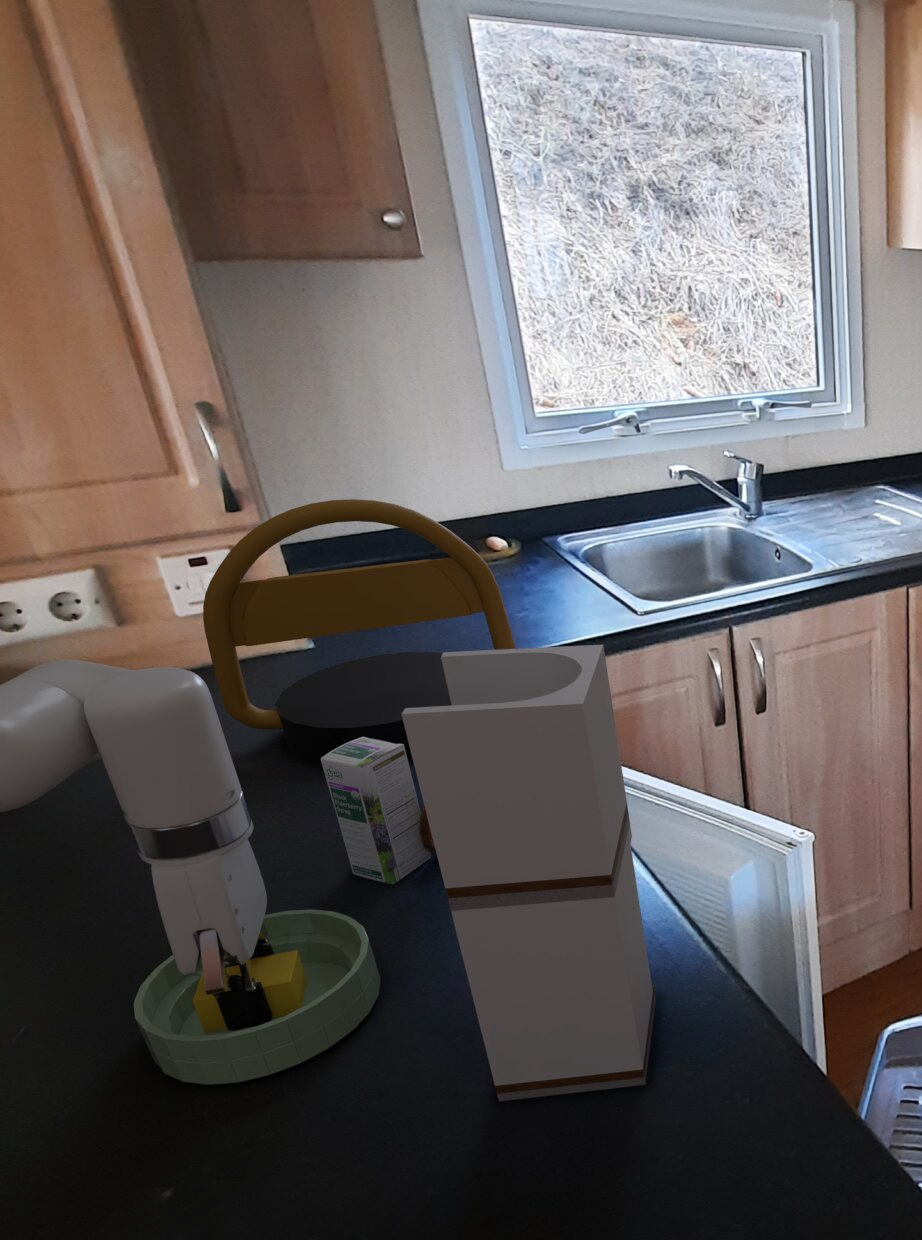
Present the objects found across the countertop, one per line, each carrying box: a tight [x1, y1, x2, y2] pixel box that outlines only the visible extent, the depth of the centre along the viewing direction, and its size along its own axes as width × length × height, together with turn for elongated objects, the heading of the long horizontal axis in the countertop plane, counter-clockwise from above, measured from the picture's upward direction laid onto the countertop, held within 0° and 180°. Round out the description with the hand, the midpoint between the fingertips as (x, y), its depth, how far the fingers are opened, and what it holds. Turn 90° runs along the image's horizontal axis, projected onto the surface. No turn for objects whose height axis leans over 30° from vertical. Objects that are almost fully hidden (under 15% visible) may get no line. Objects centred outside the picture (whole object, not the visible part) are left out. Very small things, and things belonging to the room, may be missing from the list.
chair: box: [202, 498, 517, 768], centre depth 136 cm, size 25×35×32 cm
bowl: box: [133, 908, 382, 1086], centre depth 92 cm, size 17×17×6 cm
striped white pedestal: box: [402, 644, 657, 1102], centre depth 82 cm, size 11×11×35 cm
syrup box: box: [321, 737, 432, 885], centre depth 111 cm, size 6×6×14 cm
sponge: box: [193, 950, 307, 1033], centre depth 89 cm, size 7×4×4 cm, turn 112°
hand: (256, 1003), depth 90 cm, fingers closed on sponge, 4 cm apart
